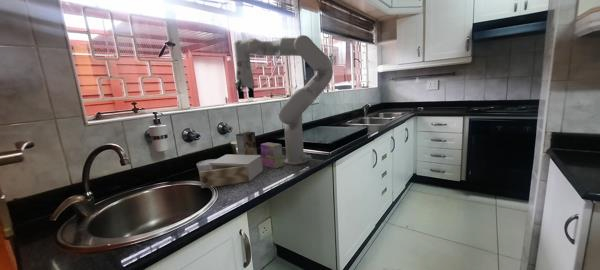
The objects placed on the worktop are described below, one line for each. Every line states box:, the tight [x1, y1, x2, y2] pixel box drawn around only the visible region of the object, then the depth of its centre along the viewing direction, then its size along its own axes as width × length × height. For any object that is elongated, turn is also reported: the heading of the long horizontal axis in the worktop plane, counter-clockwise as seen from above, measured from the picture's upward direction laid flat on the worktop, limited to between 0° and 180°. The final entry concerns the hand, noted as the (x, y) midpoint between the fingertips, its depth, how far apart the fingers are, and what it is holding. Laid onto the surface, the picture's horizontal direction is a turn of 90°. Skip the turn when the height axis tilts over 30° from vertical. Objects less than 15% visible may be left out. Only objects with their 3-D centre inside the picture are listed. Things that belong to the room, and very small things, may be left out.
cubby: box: [210, 153, 264, 182], centre depth 123 cm, size 20×14×8 cm
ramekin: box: [196, 158, 217, 173], centre depth 131 cm, size 11×11×5 cm
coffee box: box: [235, 131, 258, 155], centre depth 146 cm, size 9×6×16 cm
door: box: [198, 166, 250, 189], centre depth 110 cm, size 20×3×7 cm, turn 103°
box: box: [260, 141, 284, 169], centre depth 133 cm, size 10×6×12 cm, turn 47°
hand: (246, 98), depth 136 cm, fingers open, 9 cm apart
